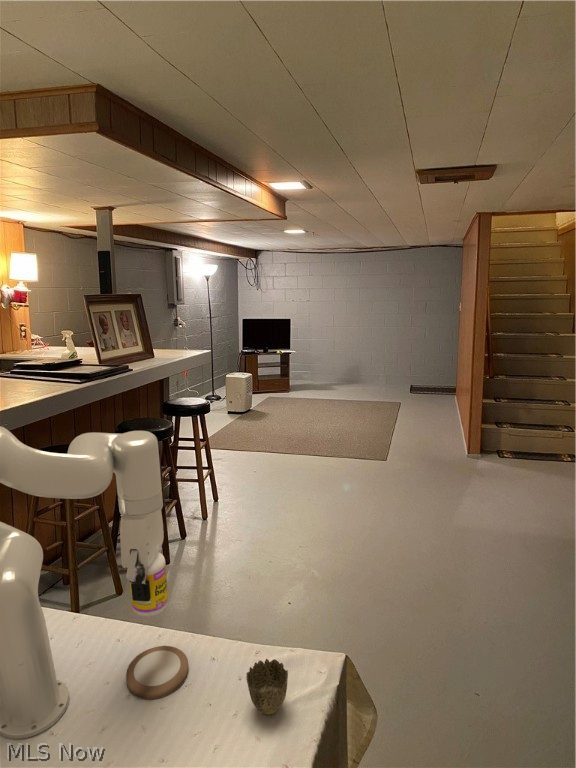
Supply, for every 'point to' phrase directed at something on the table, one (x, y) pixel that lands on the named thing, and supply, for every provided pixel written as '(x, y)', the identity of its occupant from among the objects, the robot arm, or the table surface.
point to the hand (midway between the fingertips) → (148, 586)
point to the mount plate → (157, 672)
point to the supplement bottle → (153, 588)
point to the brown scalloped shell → (267, 685)
